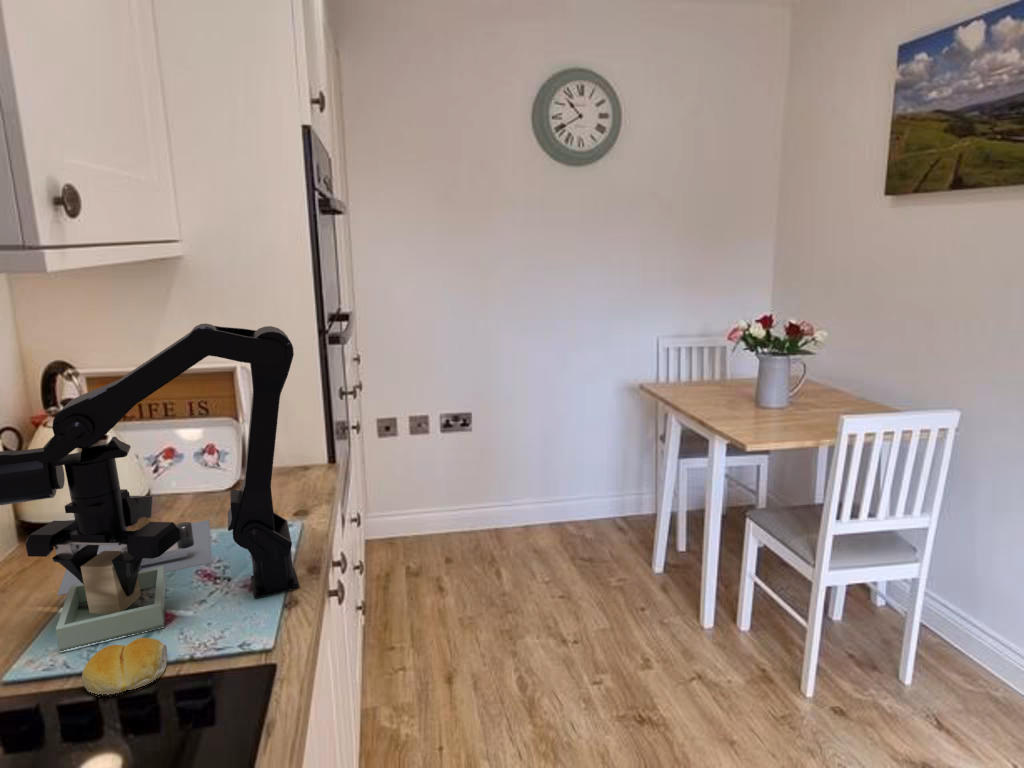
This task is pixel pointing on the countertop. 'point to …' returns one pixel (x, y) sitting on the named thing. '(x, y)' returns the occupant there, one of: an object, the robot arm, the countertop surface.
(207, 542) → the crank base
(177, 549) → the crank
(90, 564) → the block
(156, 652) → the bread roll
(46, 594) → the countertop surface
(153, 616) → the tray
